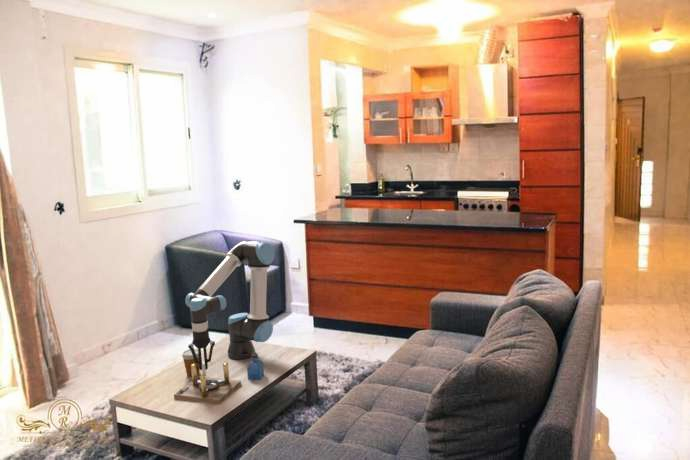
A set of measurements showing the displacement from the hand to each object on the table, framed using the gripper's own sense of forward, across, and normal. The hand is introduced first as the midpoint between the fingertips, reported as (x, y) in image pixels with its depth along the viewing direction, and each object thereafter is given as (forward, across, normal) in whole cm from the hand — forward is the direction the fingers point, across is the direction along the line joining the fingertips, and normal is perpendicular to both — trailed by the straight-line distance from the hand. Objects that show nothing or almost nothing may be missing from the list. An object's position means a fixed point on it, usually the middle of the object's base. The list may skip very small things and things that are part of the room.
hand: (204, 375), depth 282 cm
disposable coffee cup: (+6, +6, -16) cm, 18 cm away
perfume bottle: (+6, -25, -2) cm, 26 cm away
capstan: (+3, 0, +6) cm, 7 cm away
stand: (+5, -2, +7) cm, 9 cm away
